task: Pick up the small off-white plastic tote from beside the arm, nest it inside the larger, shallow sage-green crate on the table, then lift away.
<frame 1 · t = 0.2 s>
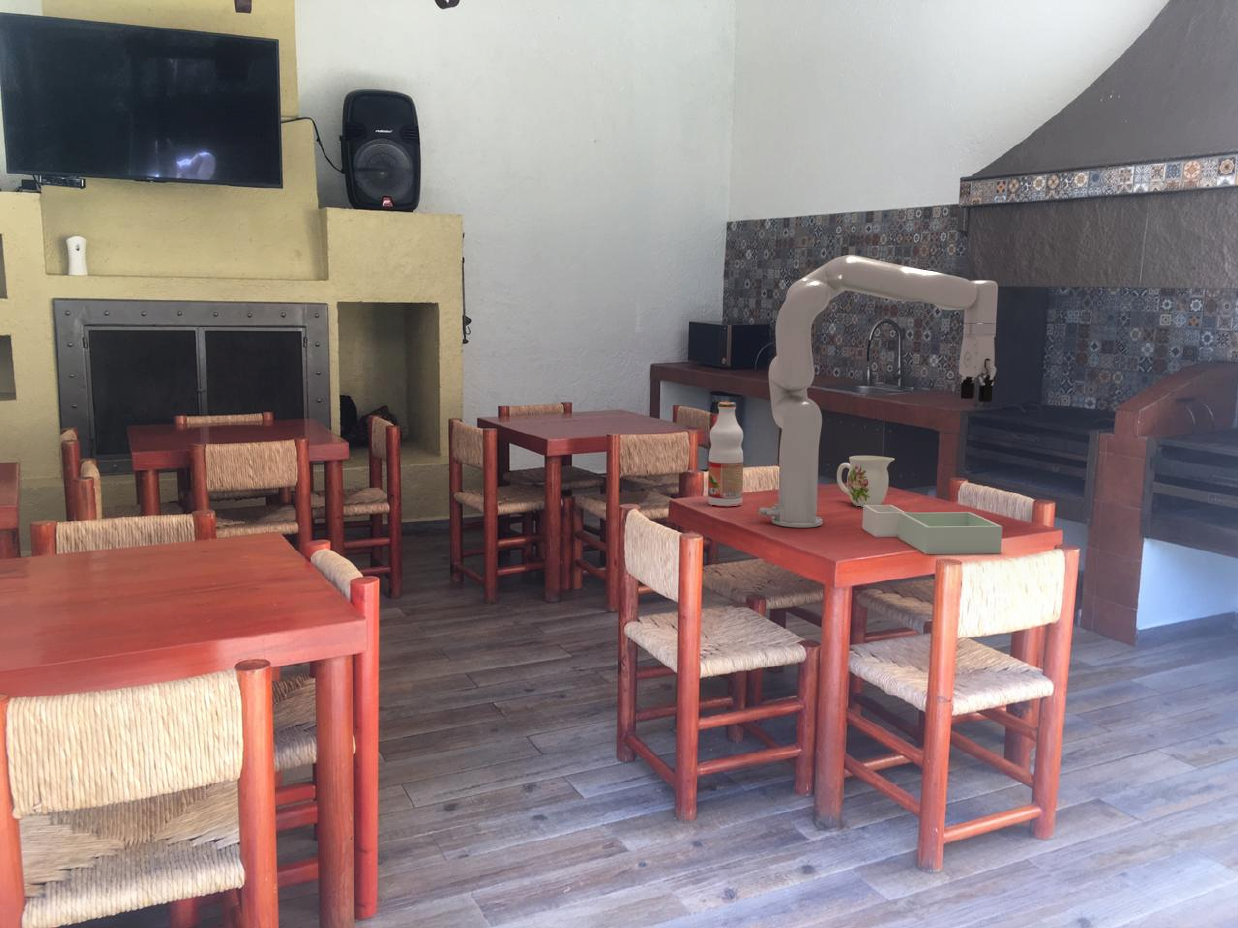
hand: (975, 400, 265), 31 cm above the table, fingers open, 9 cm apart
fruit juice: (724, 505, 291), on the table
small tote: (883, 533, 256), on the table
pitcher: (863, 506, 292), on the table
big crate: (948, 545, 242), on the table
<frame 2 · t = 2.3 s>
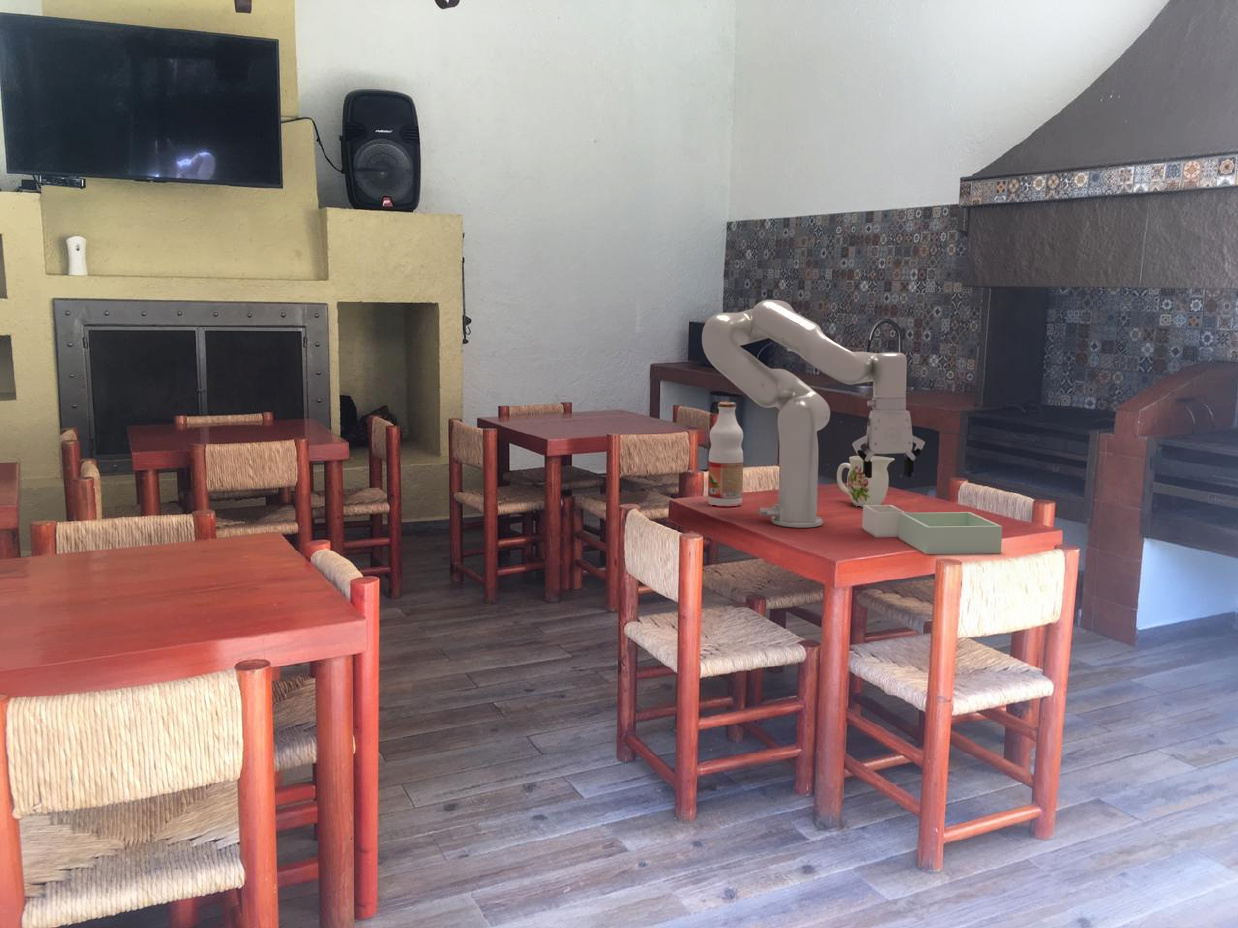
hand: (888, 476, 253), 14 cm above the table, fingers open, 9 cm apart
nothing on the table moved.
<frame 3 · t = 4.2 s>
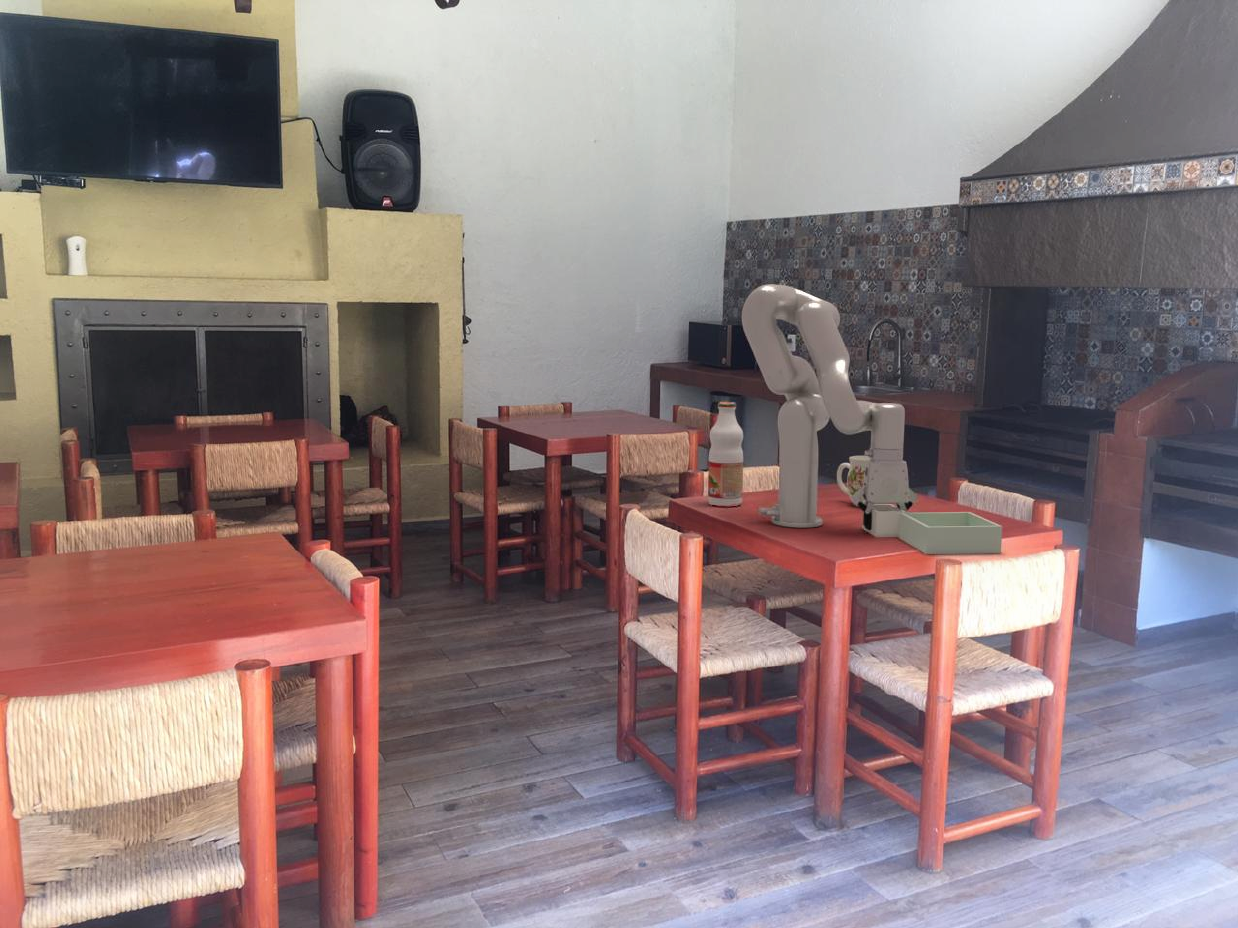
hand: (883, 528, 255), 1 cm above the table, fingers closed on small tote, 7 cm apart
small tote: (883, 532, 256), on the table, touching gripper
everything else where it was.
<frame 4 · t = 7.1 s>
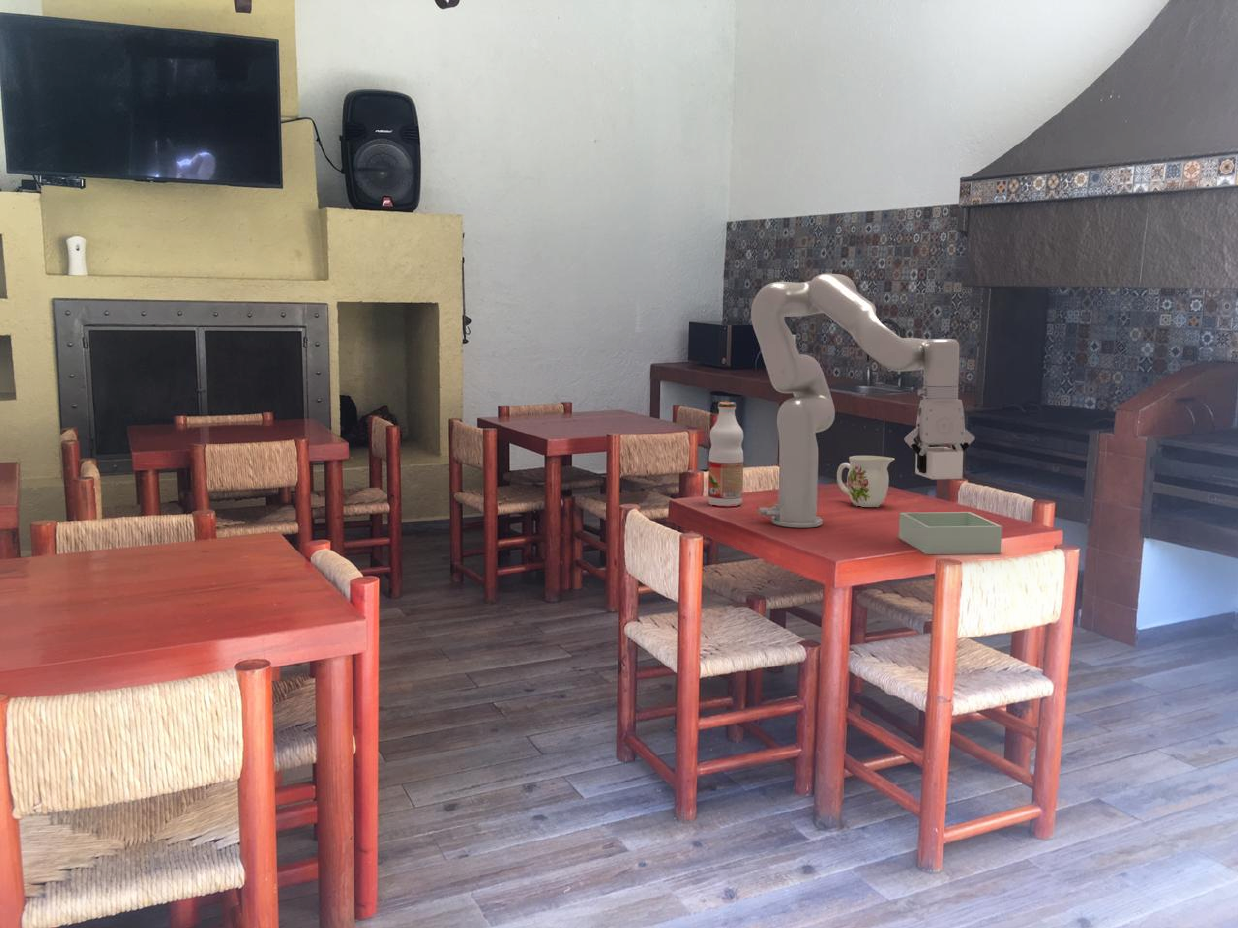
hand: (938, 471, 242), 17 cm above the table, fingers closed on small tote, 7 cm apart
small tote: (938, 475, 242), point 15 cm above the table, touching gripper
everything else where it was.
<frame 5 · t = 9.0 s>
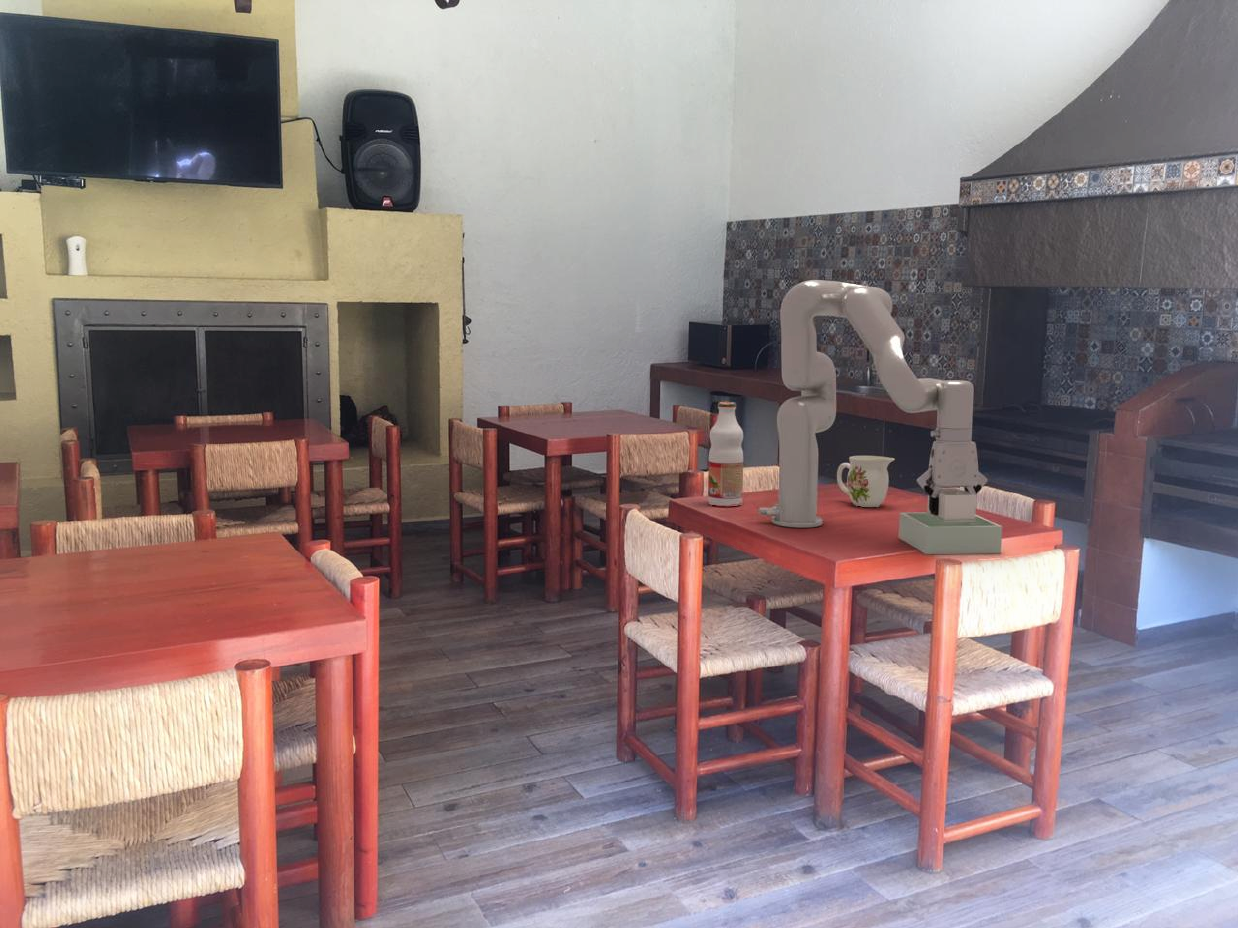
hand: (950, 513, 241), 7 cm above the table, fingers closed on small tote, 7 cm apart
small tote: (950, 517, 241), point 6 cm above the table, touching gripper
everything else where it was.
when the fingers open (4 cm above the table, at t = 10.3 s): small tote drops 2 cm, resting on big crate.
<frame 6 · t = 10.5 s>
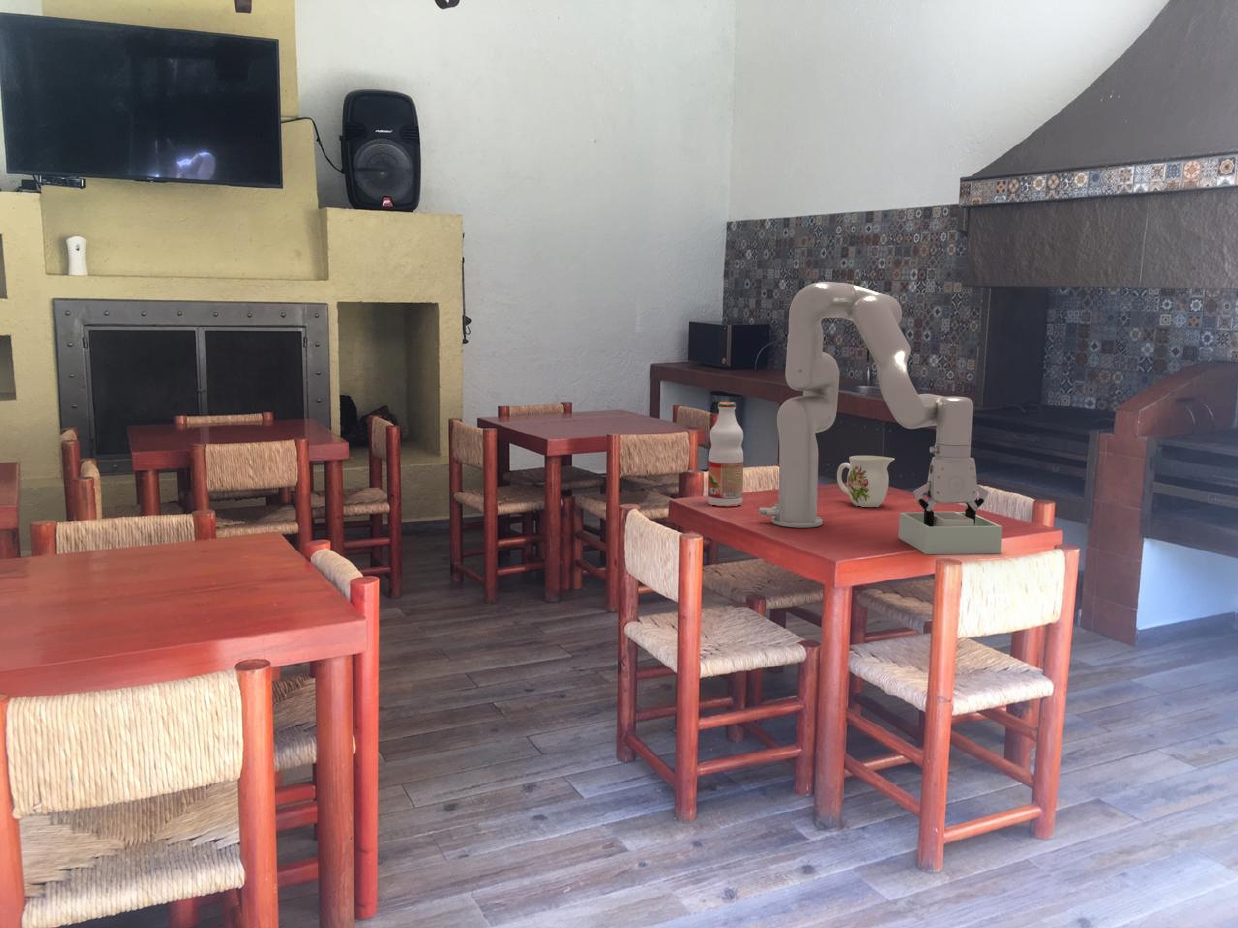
hand: (949, 527, 241), 4 cm above the table, fingers open, 9 cm apart
small tote: (948, 541, 242), point 1 cm above the table, touching big crate
everything else where it was.
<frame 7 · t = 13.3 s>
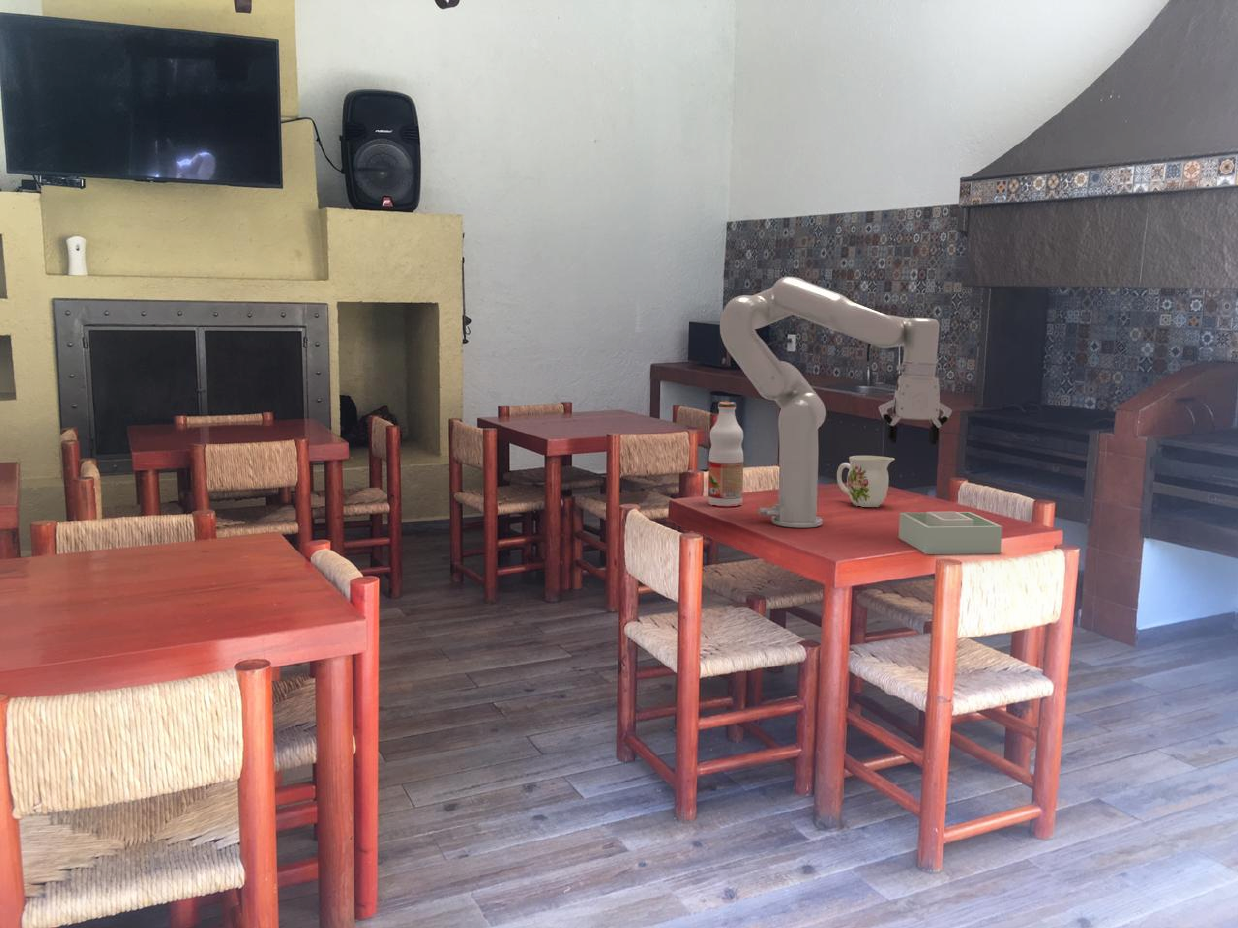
hand: (912, 442, 253), 22 cm above the table, fingers open, 9 cm apart
nothing on the table moved.
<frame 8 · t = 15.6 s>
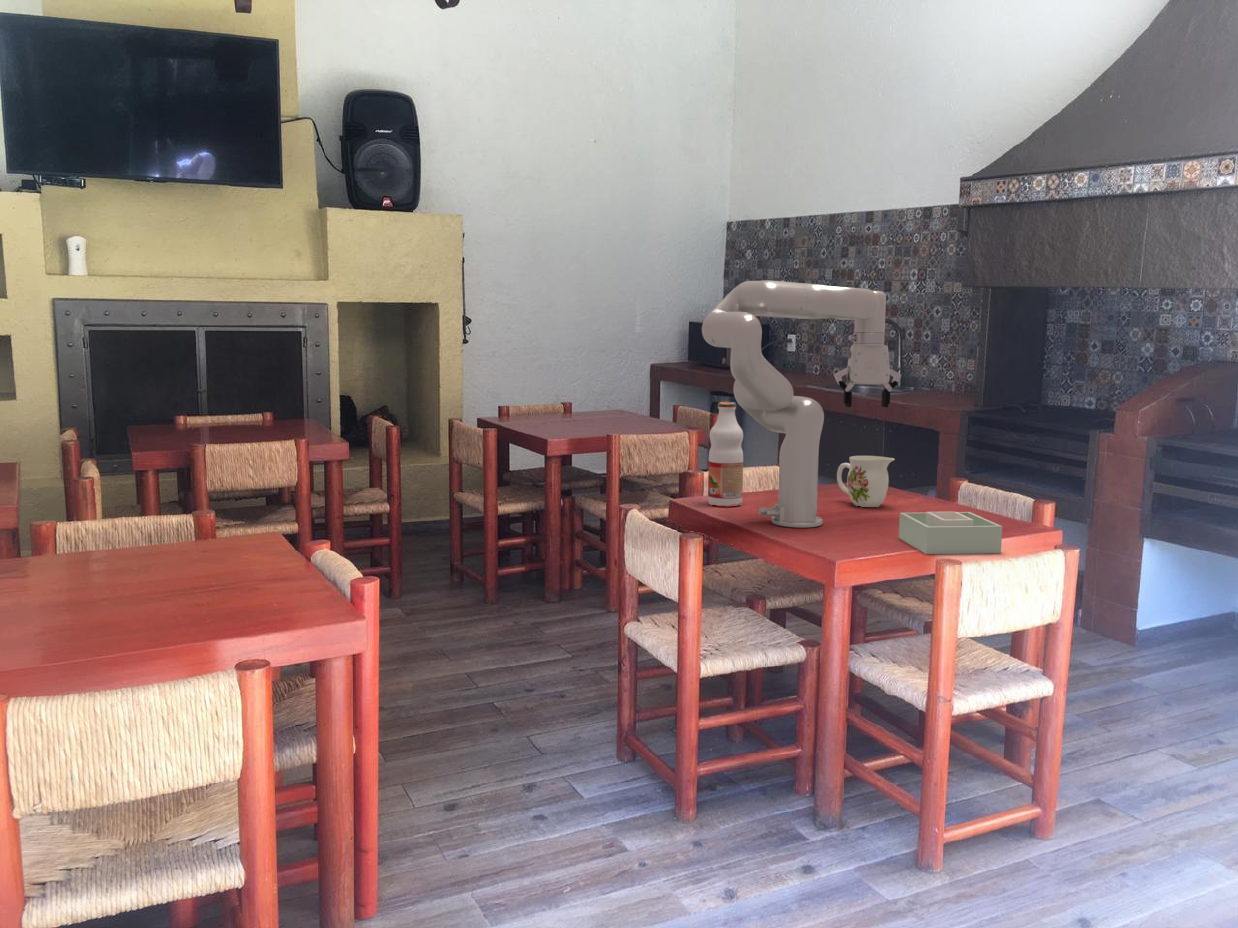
hand: (866, 406, 273), 28 cm above the table, fingers open, 9 cm apart
nothing on the table moved.
at the end: small tote inside the target area on the big crate (0.1 cm from its centre), point 0.8 cm above the big crate's base; small tote tilted 0°; the gripper is holding nothing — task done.
